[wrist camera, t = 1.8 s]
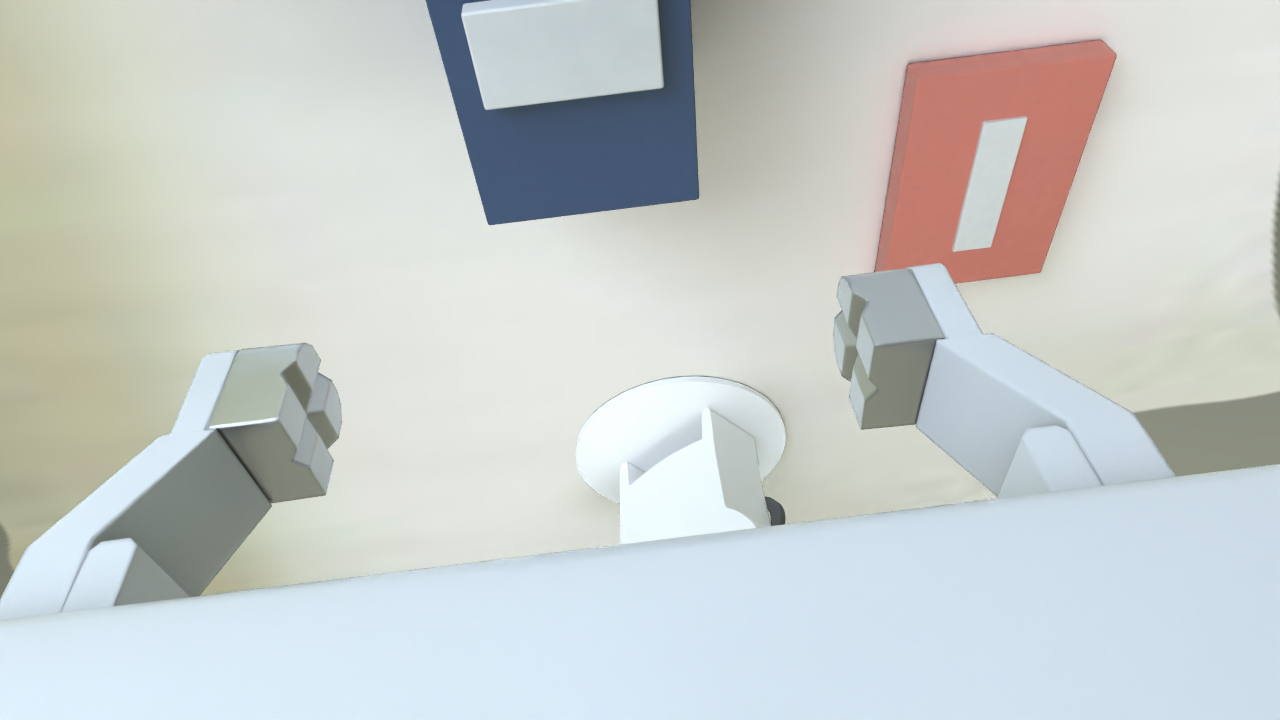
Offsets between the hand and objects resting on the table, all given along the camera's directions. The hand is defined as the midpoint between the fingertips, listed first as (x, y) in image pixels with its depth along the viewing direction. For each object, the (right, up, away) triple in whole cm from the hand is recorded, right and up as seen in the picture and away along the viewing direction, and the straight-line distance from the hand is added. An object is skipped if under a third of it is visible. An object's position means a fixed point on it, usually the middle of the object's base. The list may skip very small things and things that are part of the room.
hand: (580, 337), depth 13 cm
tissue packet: (+14, +7, +20) cm, 26 cm away
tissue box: (-2, +13, +12) cm, 18 cm away
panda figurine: (+3, -5, +32) cm, 32 cm away
